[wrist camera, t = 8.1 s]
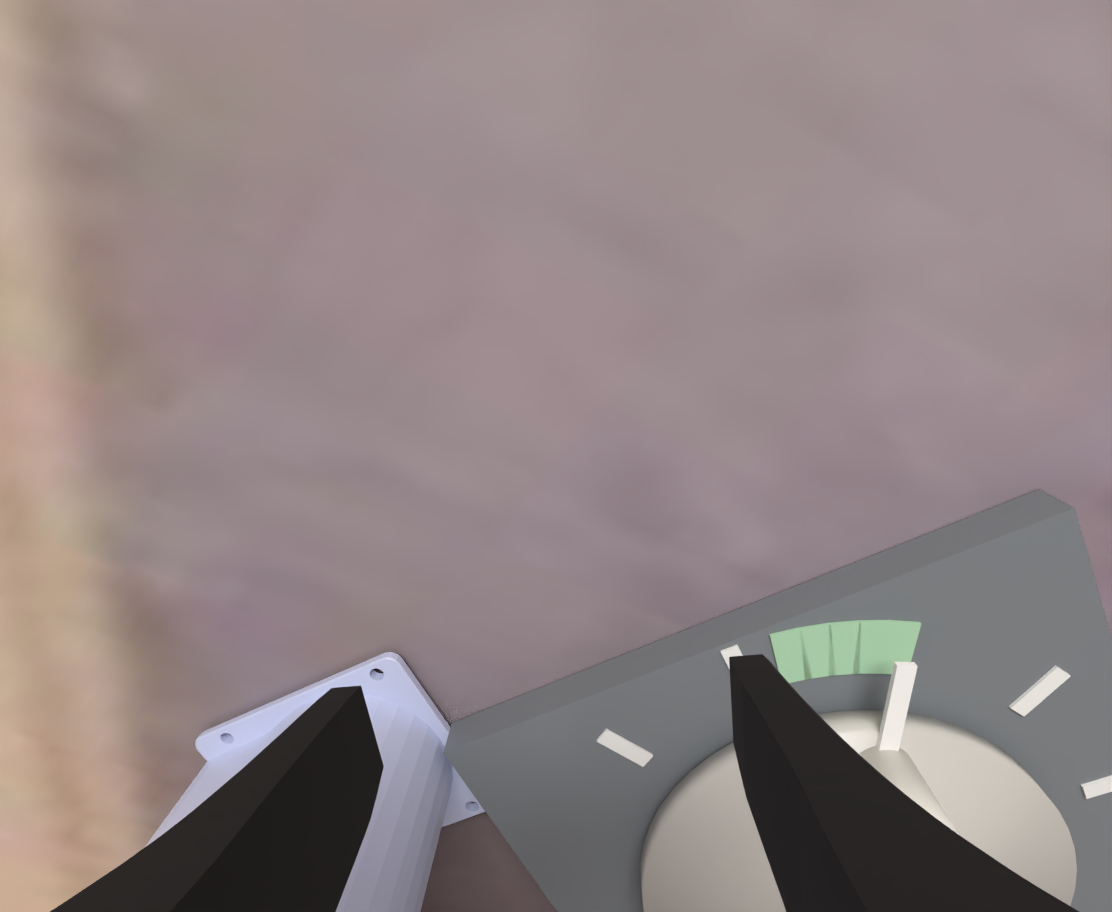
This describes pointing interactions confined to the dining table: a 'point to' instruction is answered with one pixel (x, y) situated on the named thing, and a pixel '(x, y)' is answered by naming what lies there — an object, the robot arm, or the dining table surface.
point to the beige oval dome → (900, 756)
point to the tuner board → (820, 696)
